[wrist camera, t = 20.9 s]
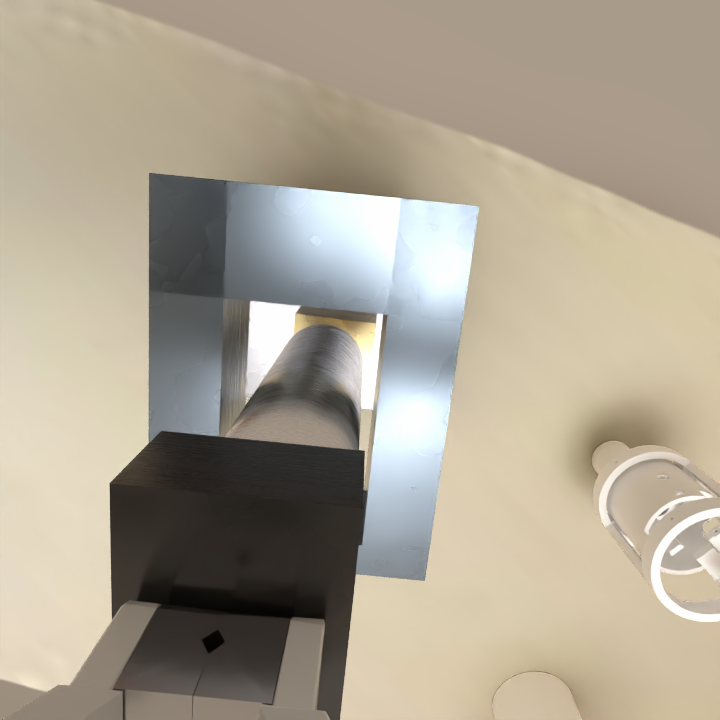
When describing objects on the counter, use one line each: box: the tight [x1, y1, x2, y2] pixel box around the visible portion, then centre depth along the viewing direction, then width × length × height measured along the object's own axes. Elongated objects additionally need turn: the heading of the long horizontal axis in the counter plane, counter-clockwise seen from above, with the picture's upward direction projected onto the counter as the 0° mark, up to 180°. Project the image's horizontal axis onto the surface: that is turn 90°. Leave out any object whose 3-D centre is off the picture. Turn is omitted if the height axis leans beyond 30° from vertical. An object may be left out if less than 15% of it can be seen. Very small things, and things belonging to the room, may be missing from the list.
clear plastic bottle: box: [592, 441, 720, 622], centre depth 36 cm, size 7×7×15 cm
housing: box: [293, 306, 377, 401], centre depth 34 cm, size 4×4×10 cm
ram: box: [110, 324, 365, 720], centre depth 17 cm, size 4×5×16 cm
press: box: [149, 173, 479, 581], centre depth 29 cm, size 16×14×26 cm
